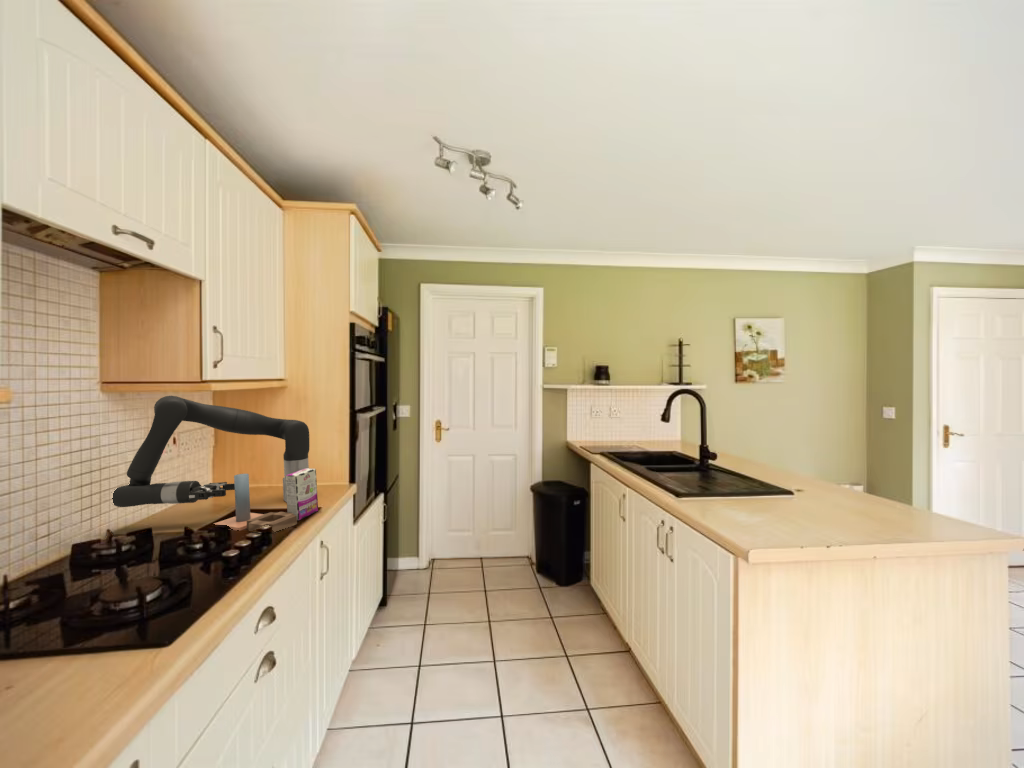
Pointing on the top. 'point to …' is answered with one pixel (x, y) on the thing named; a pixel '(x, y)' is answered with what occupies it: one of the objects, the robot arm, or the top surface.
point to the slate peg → (242, 497)
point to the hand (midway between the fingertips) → (231, 489)
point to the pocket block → (273, 521)
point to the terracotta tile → (237, 525)
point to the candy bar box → (302, 493)
